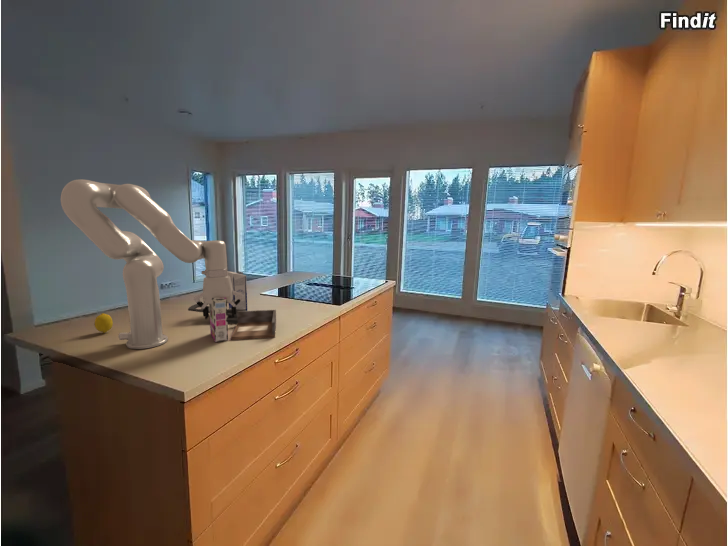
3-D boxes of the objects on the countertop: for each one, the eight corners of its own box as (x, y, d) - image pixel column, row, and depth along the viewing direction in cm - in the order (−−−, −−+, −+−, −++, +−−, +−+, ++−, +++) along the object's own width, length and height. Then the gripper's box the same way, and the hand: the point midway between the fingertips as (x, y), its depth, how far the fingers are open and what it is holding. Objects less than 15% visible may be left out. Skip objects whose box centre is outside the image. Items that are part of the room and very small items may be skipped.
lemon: (117, 331, 129) (115, 312, 128) (102, 336, 124) (100, 316, 123) (106, 329, 131) (104, 310, 129) (92, 334, 125) (89, 314, 124)
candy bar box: (229, 340, 123) (227, 298, 120) (214, 343, 120) (212, 300, 117) (223, 331, 132) (221, 292, 129) (210, 333, 129) (208, 293, 127)
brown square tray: (231, 340, 123) (230, 324, 122) (238, 325, 141) (237, 311, 140) (275, 337, 127) (274, 322, 126) (276, 323, 144) (275, 309, 143)
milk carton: (228, 310, 162) (226, 270, 159) (241, 308, 167) (240, 269, 164) (233, 313, 157) (232, 272, 154) (247, 311, 162) (246, 271, 158)
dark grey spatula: (195, 303, 149) (250, 304, 150) (196, 317, 150) (250, 318, 151) (185, 308, 140) (244, 309, 141) (186, 323, 141) (244, 324, 142)
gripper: (189, 276, 116) (193, 321, 119) (239, 274, 120) (242, 318, 123) (194, 272, 124) (198, 315, 127) (242, 270, 128) (245, 312, 131)
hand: (220, 317), depth 125 cm, fingers open, 9 cm apart
